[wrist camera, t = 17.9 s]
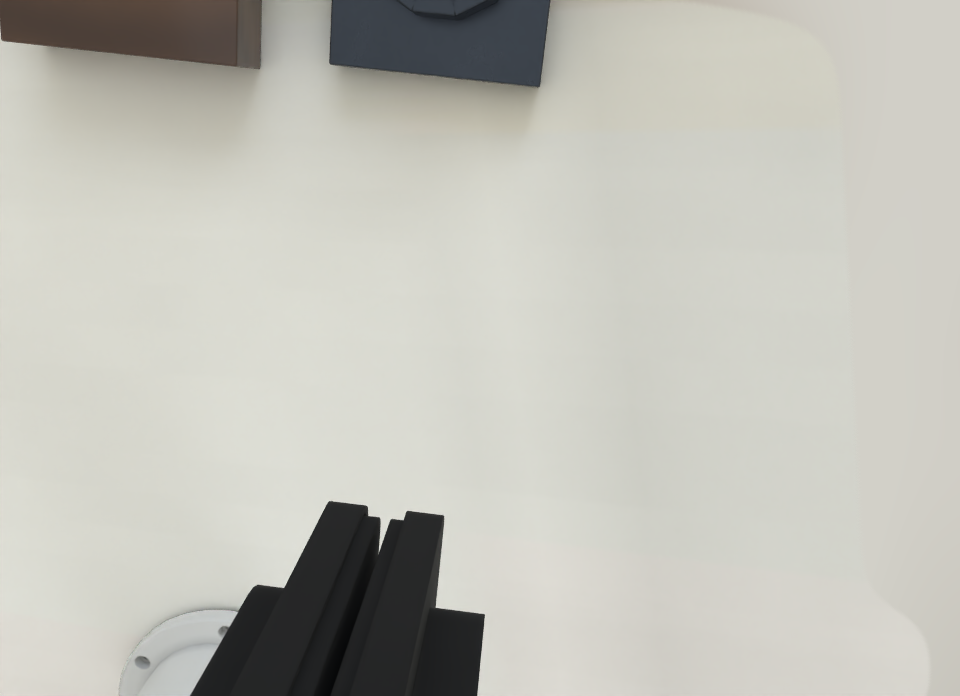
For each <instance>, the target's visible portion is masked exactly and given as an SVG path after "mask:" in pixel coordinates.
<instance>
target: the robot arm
mask: <svg viewBox="0 0 960 696" xmlns="http://www.w3.org/2000/svg"><path fill="white" fill-rule="evenodd" d="M380 524H381V523H380V518H379V517H371V516H368V507H367V506H364V505H356V504H349V503H341V502H333V501H329V502H328V504H327V505H326V507H325V509H324V511H323V513H322V515H321V517H320V519H319V521H318V523H317V525H316V527H315V529H314V531H313V533H312V535H311V537H310V539H309V541H308V542H307V544H306V546H305V548H304V550H303V552H302V554H301V556H300V558H299V560H298V562H297V564H296V566H295V568H294V570H293V572H292V574H291V576H290V578H289V580H288V582H287V584H286V586H285V588H278V587H270V586H263V585H257V586H255V587H253V589H252V590H251V591H250V593H249V594H248V596H247V597H246V599H245V601H244V603H243V604H242V606H241V608H240V610H239V611H238V612H236V611H230V610H202V611H196V612H190V613H185V614H182V615H180V616H177V617H174V618H171V619H169V620H167V621H165V622H164V623H162V624H160V625H159V626H157V627H156V628H154V629H153V630H152V631H151V632H149V633H148V634H147V635H146V636H145V637H144V638H143V639H142V640H141V641H140V643H139V644H138V645H137V647H136V648H135V650H134V651H133V652H132V654H131V655H130V657H129V658H128V660H127V663H126V665H125V667H124V669H123V671H122V674H121V679H120V685H119V696H477V692H478V681H479V671H480V660H481V650H482V639H483V629H484V618H485V614H478V613H470V612H463V611H455V610H447V609H440V608H435V606H436V597H437V587H438V577H439V567H440V557H441V548H442V538H443V528H444V515H436V514H428V513H420V512H412V511H407V512H406V515H405V518H404V521H403V520H395V519H391V520H390V523H389V526H388V528H387V531H386V534H385V537H384V540H383V543H382V546H381V549H380V552H379V539H380ZM378 553H379V555H378Z"/></svg>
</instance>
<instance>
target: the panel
mask: <svg viewBox="0 0 960 696" xmlns="http://www.w3.org/2000/svg"><path fill="white" fill-rule="evenodd" d="M0 29H1V39H2V41H7V42H16V43H25V44H34V45H43V46H52V47H61V48H71V49H80V50H89V51H98V52H107V53H116V54H125V55H135V56H144V57H153V58H162V59H171V60H180V61H189V62H199V63H208V64H217V65H226V66H235V67H245V68H254V69H260V53H261V0H0Z"/></svg>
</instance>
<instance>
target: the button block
mask: <svg viewBox="0 0 960 696" xmlns="http://www.w3.org/2000/svg"><path fill="white" fill-rule="evenodd" d="M549 7H550V0H332V12H331V36H330V59H329V63H330V64H331V65H337V66H345V67H354V68H363V69H372V70H381V71H390V72H400V73H409V74H418V75H427V76H436V77H446V78H455V79H464V80H473V81H482V82H492V83H501V84H510V85H519V86H528V87H537V88H538V87H540V82H541V74H542V65H543V57H544V49H545V41H546V32H547V24H548V16H549Z"/></svg>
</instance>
